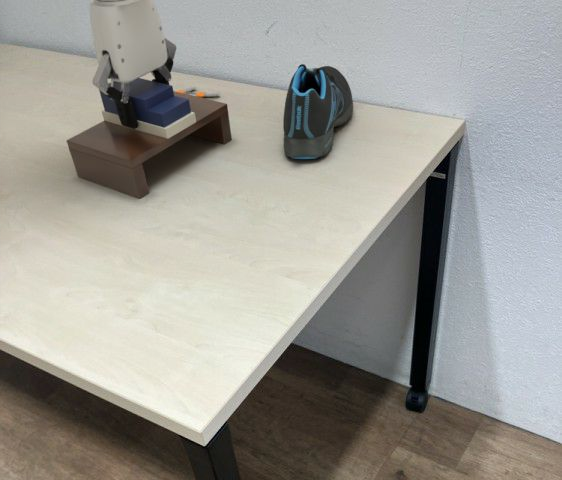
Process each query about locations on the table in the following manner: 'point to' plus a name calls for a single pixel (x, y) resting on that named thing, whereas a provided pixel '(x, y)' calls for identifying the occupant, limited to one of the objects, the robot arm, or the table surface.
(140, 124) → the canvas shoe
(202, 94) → the key chain
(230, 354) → the table surface
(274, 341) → the table surface
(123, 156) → the shoe shelf
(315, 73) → the running shoe
